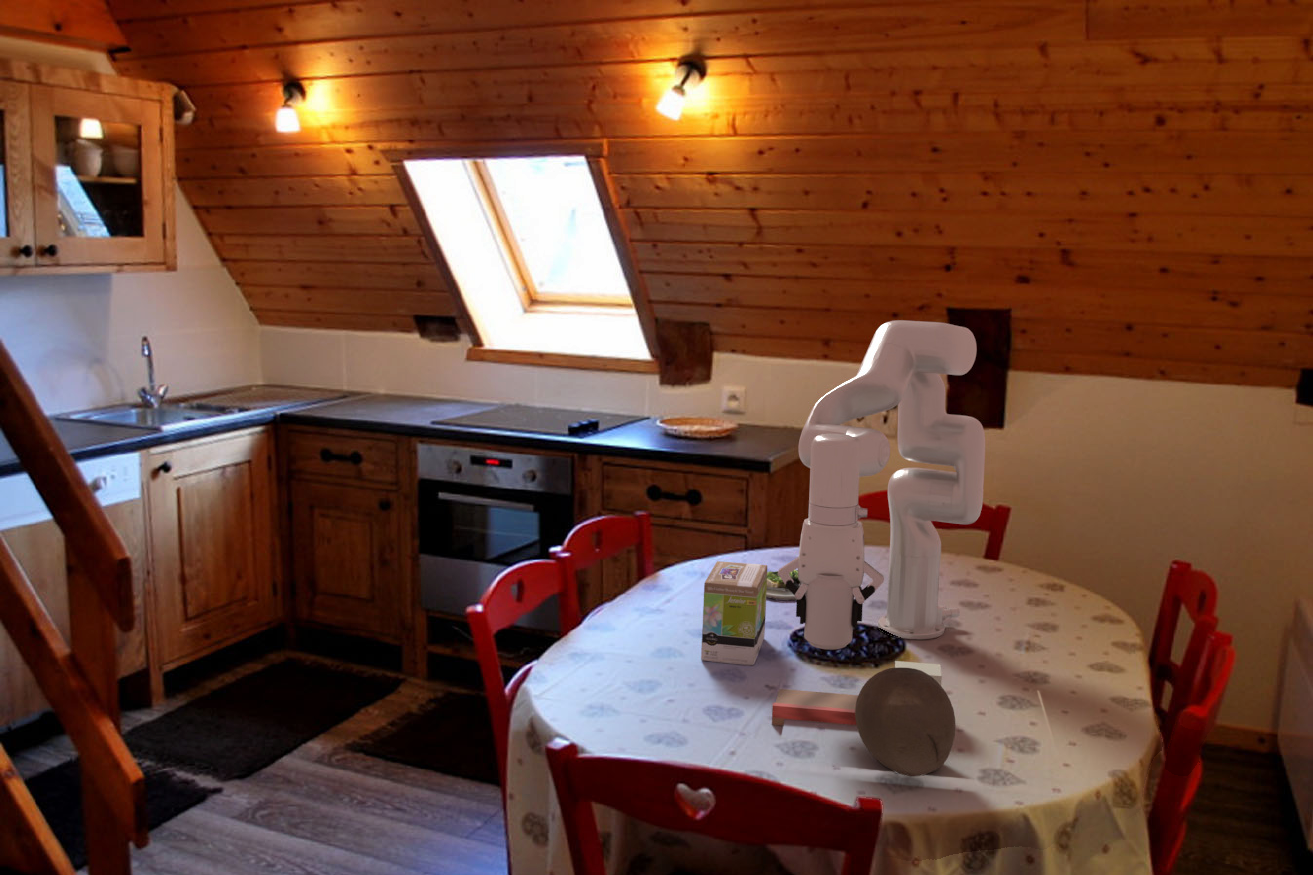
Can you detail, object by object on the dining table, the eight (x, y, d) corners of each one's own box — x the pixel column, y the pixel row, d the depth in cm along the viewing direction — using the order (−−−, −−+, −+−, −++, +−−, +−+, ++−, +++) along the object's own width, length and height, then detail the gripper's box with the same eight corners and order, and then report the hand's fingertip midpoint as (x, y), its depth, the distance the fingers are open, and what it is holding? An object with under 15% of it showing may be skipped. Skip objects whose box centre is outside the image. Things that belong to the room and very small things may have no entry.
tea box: (756, 666, 215) (758, 586, 213) (699, 662, 217) (701, 582, 215) (765, 638, 230) (768, 562, 227) (713, 634, 232) (714, 558, 229)
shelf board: (939, 709, 198) (940, 690, 197) (942, 739, 186) (943, 720, 185) (778, 695, 202) (779, 677, 202) (771, 724, 191) (772, 705, 190)
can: (845, 634, 196) (848, 562, 194) (857, 651, 189) (860, 576, 187) (799, 635, 196) (802, 563, 194) (809, 651, 188) (812, 576, 186)
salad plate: (749, 606, 249) (749, 584, 248) (730, 580, 266) (730, 560, 266) (840, 603, 252) (841, 581, 251) (815, 577, 270) (816, 557, 269)
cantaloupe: (952, 755, 181) (957, 659, 178) (952, 799, 167) (959, 695, 165) (855, 744, 184) (860, 650, 181) (848, 787, 170) (853, 685, 168)
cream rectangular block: (937, 712, 193) (940, 664, 192) (938, 725, 188) (941, 676, 187) (892, 708, 195) (895, 660, 193) (892, 721, 190) (895, 672, 188)
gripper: (890, 511, 191) (885, 619, 194) (779, 505, 194) (775, 611, 197) (890, 523, 183) (884, 635, 187) (774, 516, 187) (771, 626, 190)
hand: (828, 622), depth 192 cm, fingers closed on can, 7 cm apart
